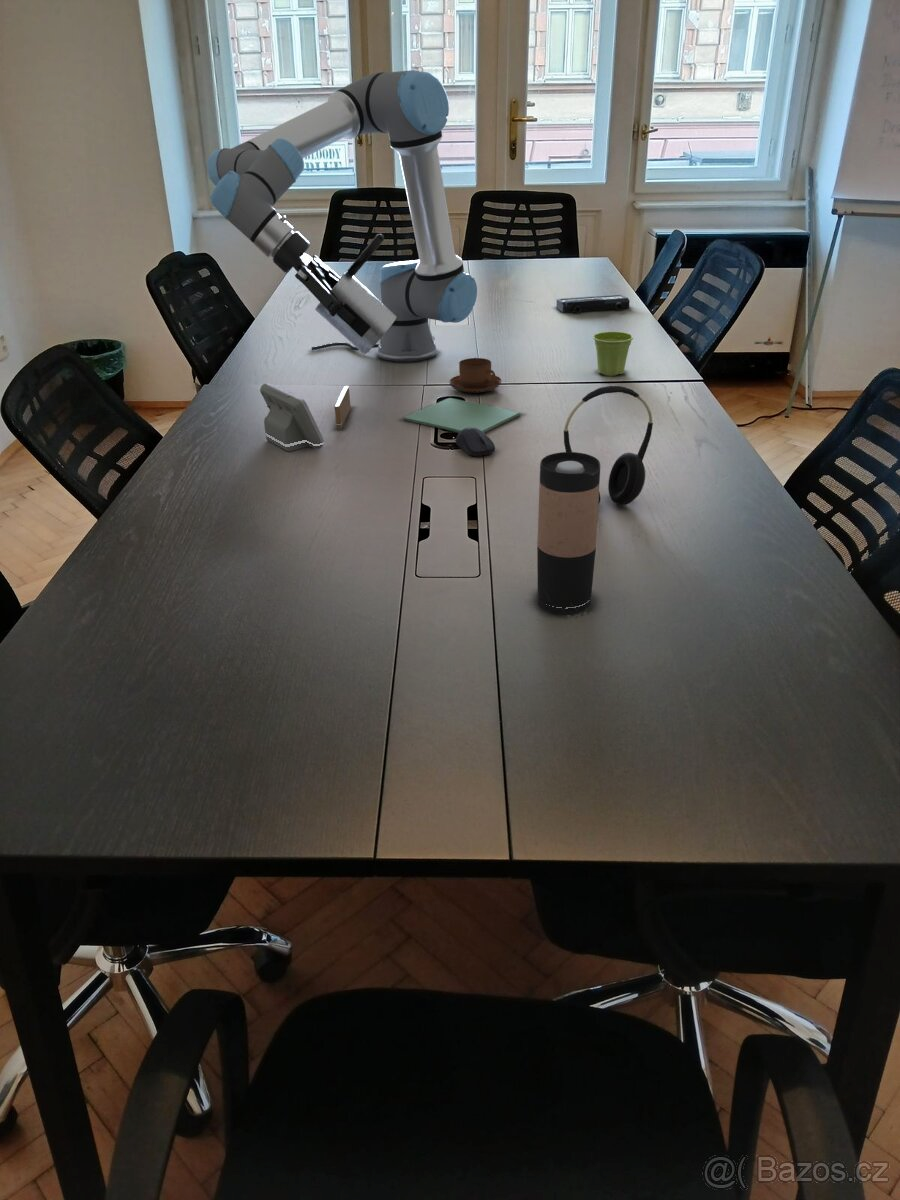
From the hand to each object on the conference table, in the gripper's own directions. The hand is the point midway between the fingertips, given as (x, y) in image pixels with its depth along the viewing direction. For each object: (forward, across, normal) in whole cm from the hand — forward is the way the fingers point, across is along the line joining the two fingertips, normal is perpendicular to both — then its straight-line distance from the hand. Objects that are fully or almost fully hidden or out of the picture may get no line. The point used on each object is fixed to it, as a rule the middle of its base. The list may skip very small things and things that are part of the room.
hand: (369, 325), depth 178 cm
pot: (+2, 0, +6) cm, 6 cm away
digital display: (+54, +101, -26) cm, 118 cm away
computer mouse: (+29, -20, -1) cm, 35 cm away
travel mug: (+38, -78, -11) cm, 87 cm away
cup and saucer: (+29, +20, -1) cm, 35 cm away
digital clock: (+3, -14, +24) cm, 28 cm away
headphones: (+44, -46, -17) cm, 66 cm away
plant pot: (+52, +31, -24) cm, 65 cm away
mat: (+27, -1, +1) cm, 27 cm away
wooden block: (+9, 0, +19) cm, 21 cm away
